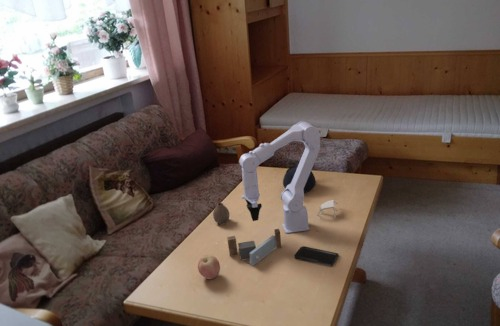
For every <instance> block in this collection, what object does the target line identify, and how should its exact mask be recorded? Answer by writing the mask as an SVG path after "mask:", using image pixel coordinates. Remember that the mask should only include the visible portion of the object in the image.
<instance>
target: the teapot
mask: <svg viewBox="0 0 500 326" xmlns="http://www.w3.org/2000/svg"><path fill="white" fill-rule="evenodd" d="M298 165H299V164H297V165H295V166H292V167H289V168H288V169H287V170H286V171H285V173H284V176H283V179H282V185H283V187H284V190H285V189H286V187H287V185H289V184H291V182H292V179H293V177H294V175H295V172H296V170H297V167H298ZM315 186H316V177H315V174H314V173H313V171H312V170H311V172H310V174H309V177H308V179H307V182H306V184H305V186H304V189H303V190H304V194H306V193H309V192H311V191H312V190H313V189H314V188H315Z"/></svg>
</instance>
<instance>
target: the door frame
mask: <svg viewBox="0 0 500 326" xmlns="http://www.w3.org/2000/svg"><path fill="white" fill-rule="evenodd" d="M274 236H275V239H276V249H282V239H281V237H282V236H281V231H280V228H275V229H274ZM226 238H227V246H228V252H229V253H228V254H229V257H234V256H238V255H239V251H238V246H237V244H238V243H237V238H236V235H232V236H227V237H226Z"/></svg>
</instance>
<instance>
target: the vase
mask: <svg viewBox="0 0 500 326" xmlns="http://www.w3.org/2000/svg"><path fill="white" fill-rule="evenodd" d="M212 216H213V220H214V222H215V223H217V224H218V225H224V224H225V225H226V224H227V223H228V222H229V220H230V212H229V209H228V208H227V206H225V204H224V203H222V202H218V203H217V204H216V206H215V207H214V209H213V212H212Z"/></svg>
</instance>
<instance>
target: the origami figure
mask: <svg viewBox="0 0 500 326" xmlns="http://www.w3.org/2000/svg"><path fill="white" fill-rule="evenodd" d="M337 205H338V202H336V200H335V199H331V200H327V201H325V202H324V203H322V204H321V205H320V207H319V212H318V213H317V215H316V216H317V217H319V220H321V219H322V218H323V217H322V216H321V215H323V214H324V210H328V209H333V210H334V212H335V213H333V214H332V215H333V217H334V218H337V216H336V215H338V212H337V209H336V206H337ZM320 213H322V214H321V215H320Z"/></svg>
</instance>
